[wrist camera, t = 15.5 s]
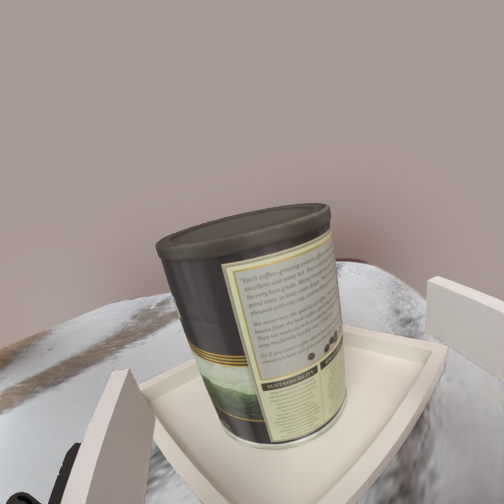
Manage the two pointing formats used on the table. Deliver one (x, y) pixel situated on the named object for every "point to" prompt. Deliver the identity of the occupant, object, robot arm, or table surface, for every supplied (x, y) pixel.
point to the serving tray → (311, 453)
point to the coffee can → (263, 320)
